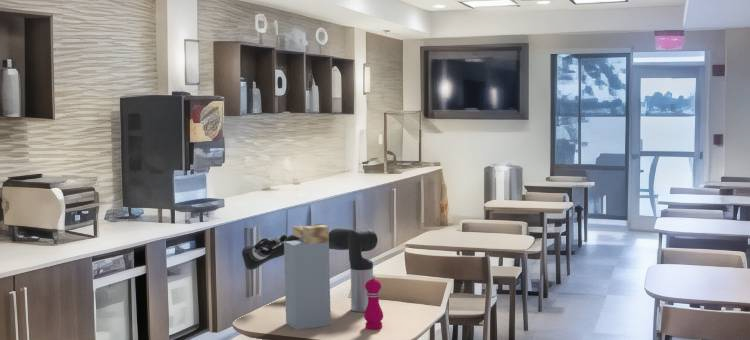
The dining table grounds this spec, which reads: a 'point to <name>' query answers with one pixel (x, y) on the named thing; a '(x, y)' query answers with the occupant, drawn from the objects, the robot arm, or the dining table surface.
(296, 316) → the stand
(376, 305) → the pepper mill
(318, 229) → the t key
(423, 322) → the dining table surface
